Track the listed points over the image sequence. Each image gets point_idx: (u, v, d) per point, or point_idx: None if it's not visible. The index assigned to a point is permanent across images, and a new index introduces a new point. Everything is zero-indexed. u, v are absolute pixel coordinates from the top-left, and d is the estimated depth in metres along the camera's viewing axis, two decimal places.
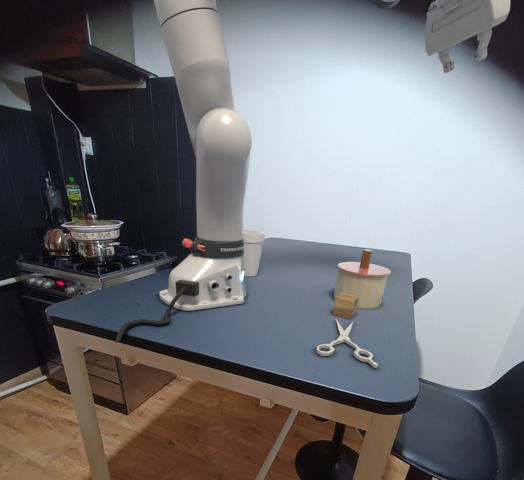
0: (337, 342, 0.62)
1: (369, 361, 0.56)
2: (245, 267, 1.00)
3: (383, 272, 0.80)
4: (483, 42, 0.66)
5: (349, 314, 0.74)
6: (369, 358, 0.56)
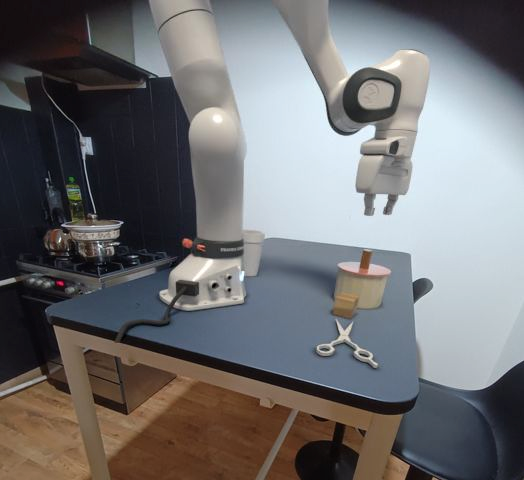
0: (337, 342, 0.62)
1: (369, 361, 0.56)
2: (245, 267, 1.00)
3: (383, 272, 0.80)
4: (365, 202, 0.72)
5: (349, 314, 0.74)
6: (369, 358, 0.56)
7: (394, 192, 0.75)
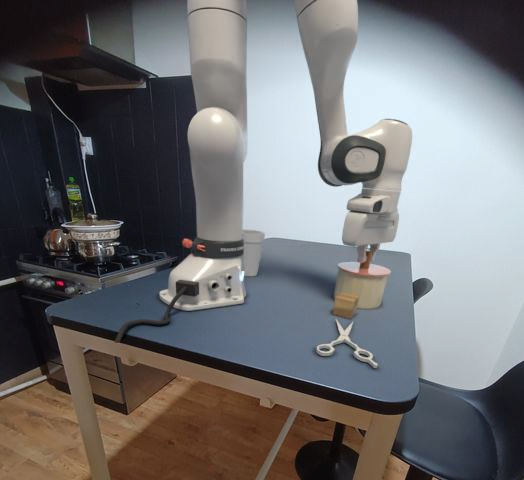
0: (337, 342, 0.62)
1: (369, 361, 0.56)
2: (245, 267, 1.00)
3: (383, 272, 0.80)
4: (358, 251, 0.79)
5: (349, 314, 0.74)
6: (369, 358, 0.56)
7: (380, 241, 0.80)
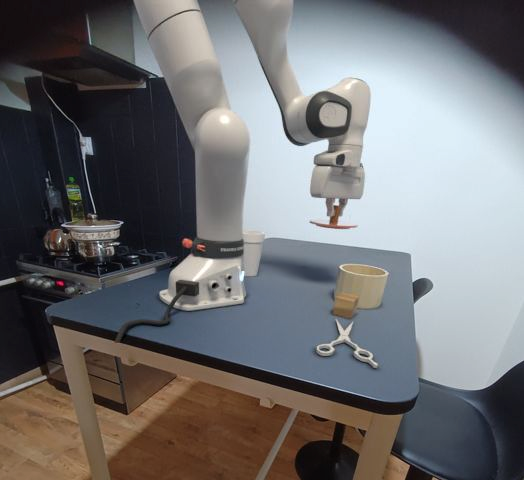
0: (337, 342, 0.62)
1: (369, 361, 0.56)
2: (245, 267, 1.00)
3: (350, 225, 0.87)
4: (327, 205, 0.87)
5: (349, 314, 0.74)
6: (369, 358, 0.56)
7: (347, 197, 0.88)
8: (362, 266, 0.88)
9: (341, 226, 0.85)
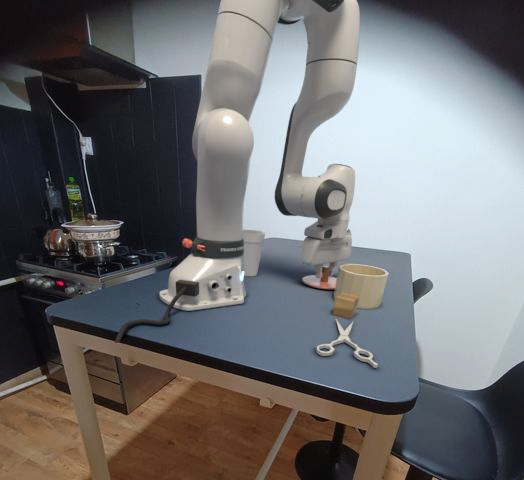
0: (337, 342, 0.62)
1: (369, 361, 0.56)
2: (245, 267, 1.00)
3: None
4: (315, 268, 0.95)
5: (349, 314, 0.74)
6: (369, 358, 0.56)
7: (335, 260, 0.96)
8: (362, 266, 0.88)
9: (330, 288, 0.93)
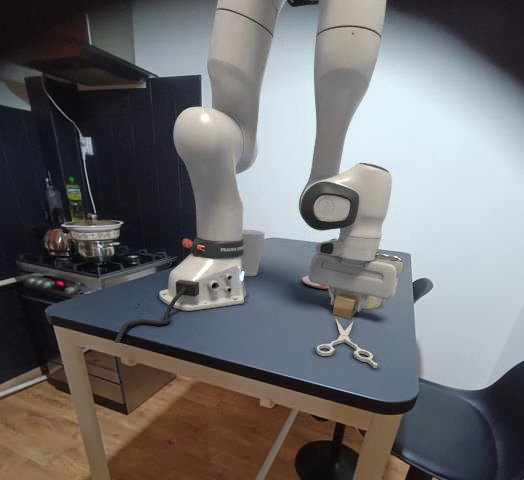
0: (337, 342, 0.62)
1: (369, 361, 0.56)
2: (245, 267, 1.00)
3: None
4: None
5: (349, 314, 0.74)
6: (369, 358, 0.56)
7: (356, 290, 0.72)
8: None
9: None
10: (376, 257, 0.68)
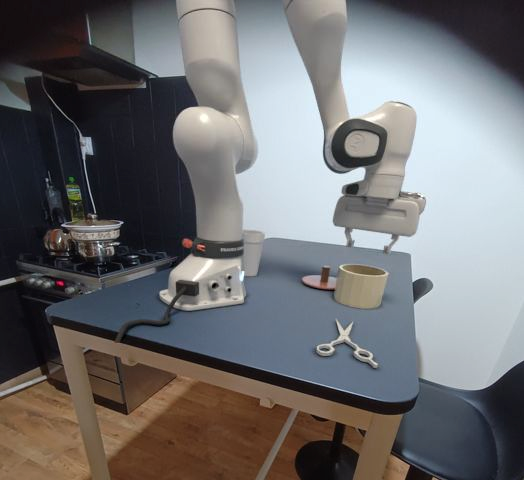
0: (337, 342, 0.62)
1: (369, 361, 0.56)
2: (245, 267, 1.00)
3: None
4: None
5: None
6: (369, 358, 0.56)
7: (379, 230, 0.76)
8: (362, 266, 0.88)
9: (330, 288, 0.93)
10: (399, 196, 0.72)
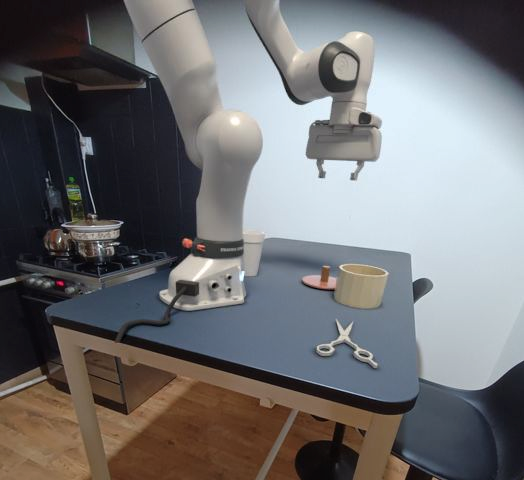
0: (337, 342, 0.62)
1: (369, 361, 0.56)
2: (245, 267, 1.00)
3: None
4: (360, 168, 0.85)
5: None
6: (369, 358, 0.56)
7: None
8: (362, 266, 0.88)
9: (330, 288, 0.93)
10: None
